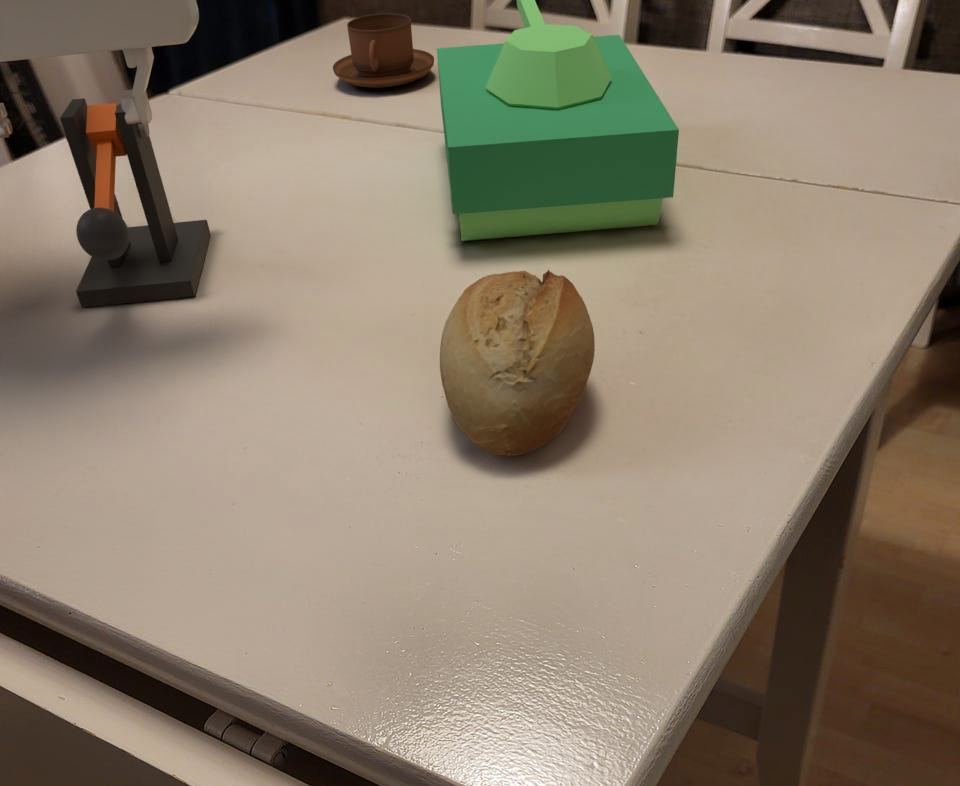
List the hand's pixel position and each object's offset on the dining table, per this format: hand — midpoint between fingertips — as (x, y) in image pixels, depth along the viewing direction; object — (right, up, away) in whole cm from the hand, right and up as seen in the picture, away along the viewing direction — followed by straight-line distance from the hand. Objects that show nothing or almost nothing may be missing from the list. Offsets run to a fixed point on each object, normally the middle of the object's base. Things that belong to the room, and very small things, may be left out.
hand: (70, 129), depth 65 cm
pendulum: (0, -1, +8) cm, 8 cm away
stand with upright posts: (0, -4, +16) cm, 17 cm away
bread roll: (+30, -19, -2) cm, 36 cm away
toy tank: (+33, +9, +27) cm, 44 cm away
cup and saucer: (+16, +31, +51) cm, 61 cm away
